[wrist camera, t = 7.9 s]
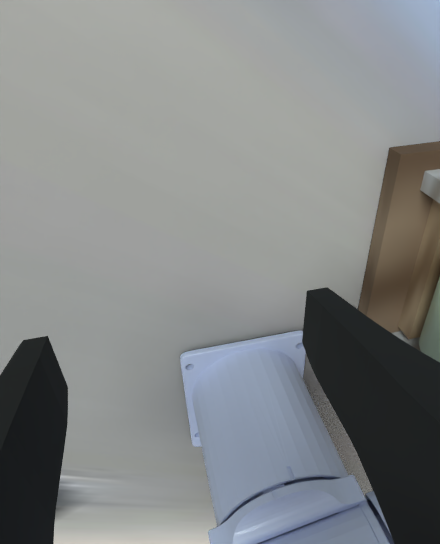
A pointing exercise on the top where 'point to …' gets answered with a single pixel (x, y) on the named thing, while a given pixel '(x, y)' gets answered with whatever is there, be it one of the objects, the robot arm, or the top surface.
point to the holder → (405, 243)
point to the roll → (432, 328)
